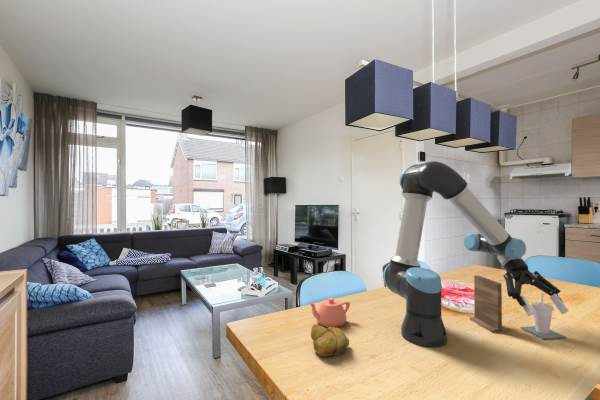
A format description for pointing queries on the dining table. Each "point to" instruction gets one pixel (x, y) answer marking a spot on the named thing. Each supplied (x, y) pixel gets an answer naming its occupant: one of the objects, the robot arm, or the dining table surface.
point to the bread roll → (328, 340)
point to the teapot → (330, 312)
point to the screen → (488, 304)
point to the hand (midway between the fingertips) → (548, 313)
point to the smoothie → (542, 316)
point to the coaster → (551, 334)
